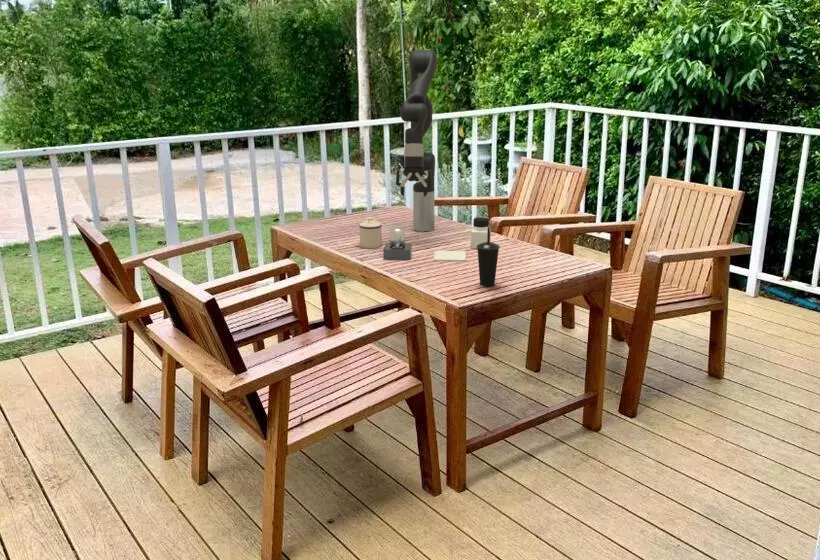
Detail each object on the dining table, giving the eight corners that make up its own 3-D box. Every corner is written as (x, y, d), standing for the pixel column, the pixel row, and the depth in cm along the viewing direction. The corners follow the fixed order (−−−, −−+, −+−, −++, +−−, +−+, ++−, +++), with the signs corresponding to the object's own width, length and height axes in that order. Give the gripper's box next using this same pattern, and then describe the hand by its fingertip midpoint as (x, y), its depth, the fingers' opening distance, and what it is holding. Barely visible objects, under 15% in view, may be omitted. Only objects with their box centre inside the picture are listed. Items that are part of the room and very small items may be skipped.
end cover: (391, 254, 286) (390, 226, 283) (405, 254, 286) (405, 226, 282) (389, 258, 281) (389, 230, 278) (404, 258, 281) (404, 230, 277)
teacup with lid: (386, 246, 297) (386, 218, 294) (367, 250, 292) (367, 221, 289) (370, 240, 307) (369, 212, 303) (351, 243, 301) (350, 216, 298)
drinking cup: (475, 288, 246) (476, 229, 240) (476, 281, 253) (477, 224, 247) (498, 289, 245) (499, 230, 239) (499, 282, 252) (500, 224, 246)
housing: (386, 252, 288) (385, 242, 287) (411, 252, 288) (411, 242, 287) (383, 259, 279) (383, 249, 278) (409, 260, 278) (409, 249, 277)
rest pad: (434, 252, 288) (434, 250, 288) (465, 252, 287) (465, 251, 287) (433, 261, 277) (433, 259, 277) (465, 261, 276) (465, 259, 276)
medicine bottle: (488, 249, 292) (489, 219, 288) (470, 248, 293) (471, 219, 289) (490, 245, 298) (491, 215, 295) (472, 244, 300) (473, 215, 296)
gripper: (432, 155, 294) (432, 195, 298) (396, 155, 295) (396, 195, 298) (431, 155, 287) (431, 197, 290) (395, 155, 288) (395, 197, 291)
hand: (413, 196), depth 294 cm, fingers open, 8 cm apart
